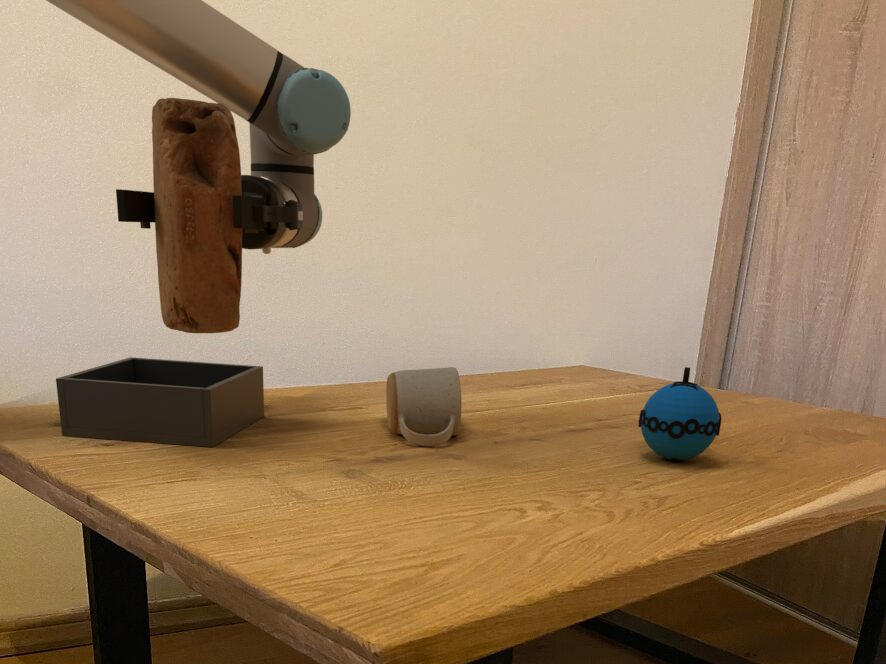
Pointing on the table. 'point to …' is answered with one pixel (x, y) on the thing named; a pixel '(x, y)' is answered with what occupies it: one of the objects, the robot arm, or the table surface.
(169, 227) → the block
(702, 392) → the ornament
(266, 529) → the table surface
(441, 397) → the ceramic mug
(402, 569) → the table surface
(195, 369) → the bin
